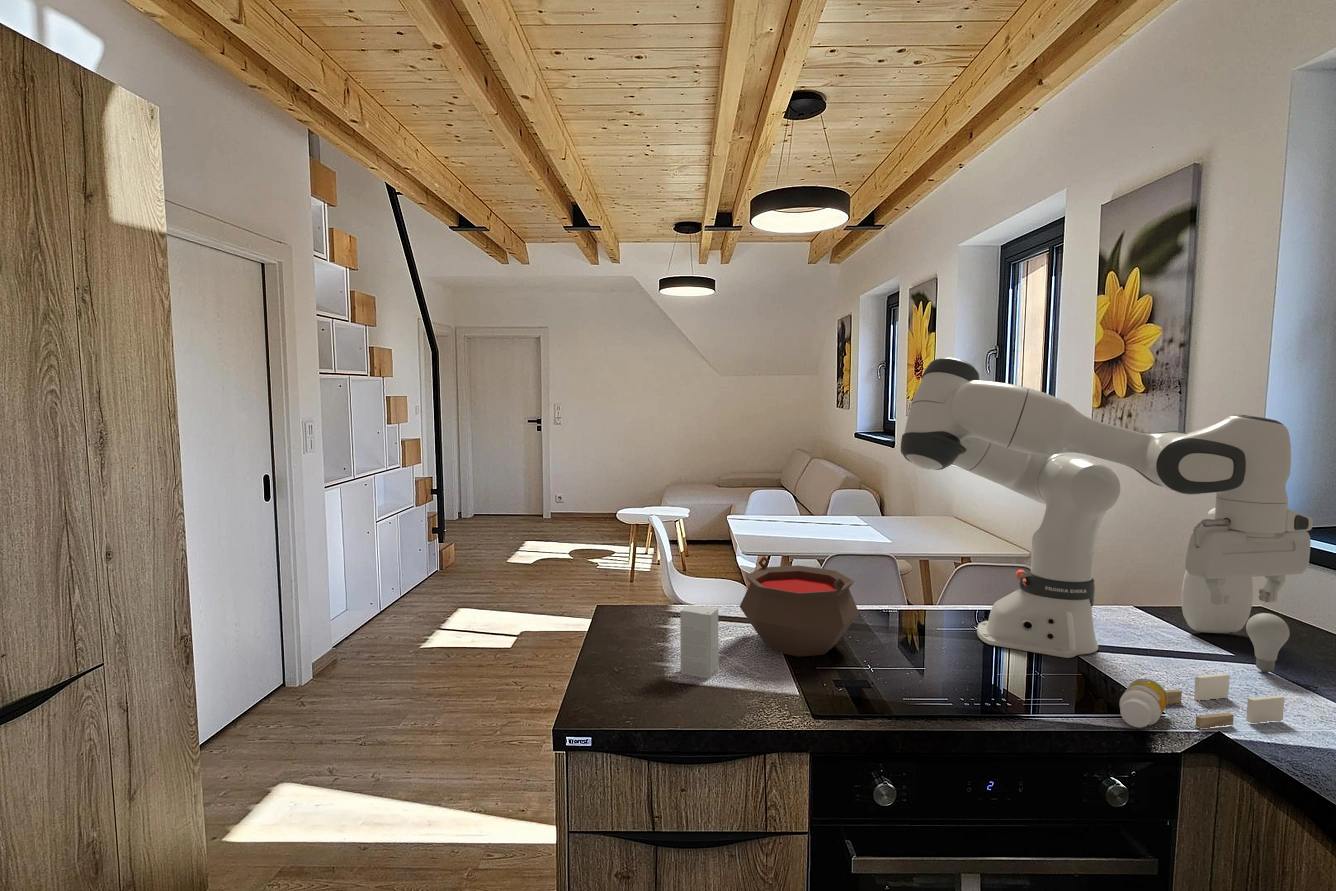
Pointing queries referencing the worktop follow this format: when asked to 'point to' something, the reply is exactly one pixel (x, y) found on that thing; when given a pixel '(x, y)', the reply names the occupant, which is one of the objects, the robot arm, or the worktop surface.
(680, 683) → the worktop surface
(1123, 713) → the supplement bottle
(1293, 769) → the worktop surface
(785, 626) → the brown pot
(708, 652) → the skincare box
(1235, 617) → the soap bottle
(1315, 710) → the worktop surface
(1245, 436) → the robot arm
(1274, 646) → the lightbulb
